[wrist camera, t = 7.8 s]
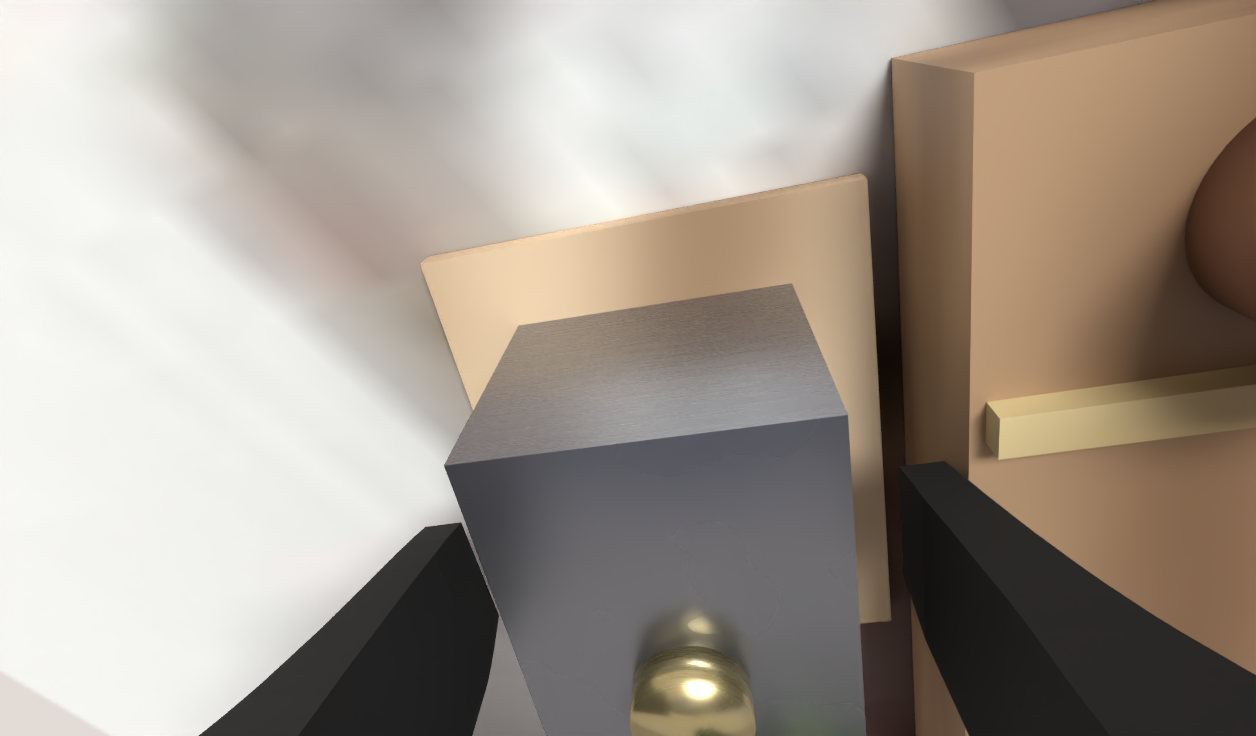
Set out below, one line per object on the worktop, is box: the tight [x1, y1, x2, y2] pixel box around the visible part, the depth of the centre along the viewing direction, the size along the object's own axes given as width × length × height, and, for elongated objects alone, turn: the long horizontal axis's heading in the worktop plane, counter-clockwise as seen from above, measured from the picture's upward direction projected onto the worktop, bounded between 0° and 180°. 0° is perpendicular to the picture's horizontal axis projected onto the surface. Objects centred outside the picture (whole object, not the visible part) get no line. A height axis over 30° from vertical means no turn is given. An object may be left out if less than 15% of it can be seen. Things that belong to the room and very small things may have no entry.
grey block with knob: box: [444, 283, 866, 736], centre depth 10 cm, size 4×6×5 cm
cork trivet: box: [420, 173, 891, 624], centre depth 12 cm, size 7×9×1 cm
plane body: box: [891, 0, 1256, 736], centre depth 10 cm, size 7×16×5 cm, turn 12°
